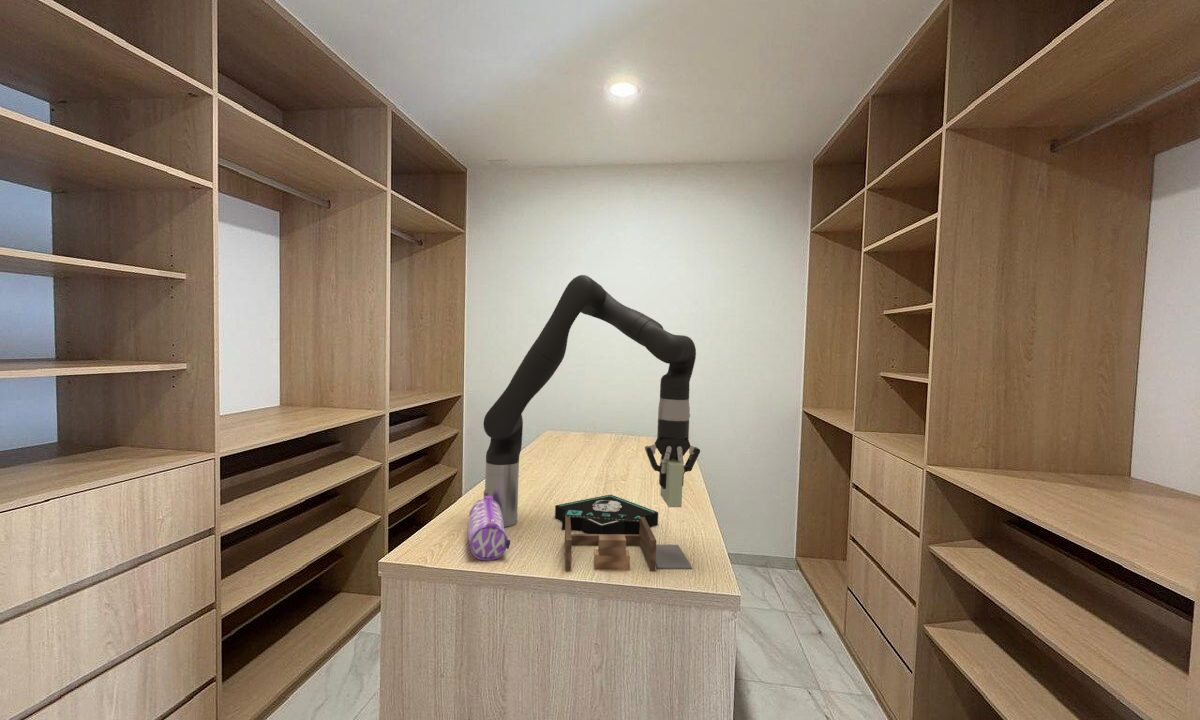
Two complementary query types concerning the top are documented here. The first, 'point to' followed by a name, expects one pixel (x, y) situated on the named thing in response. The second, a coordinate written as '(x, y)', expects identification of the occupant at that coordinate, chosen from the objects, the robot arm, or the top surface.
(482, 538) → the pencil case
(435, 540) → the top surface
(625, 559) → the block
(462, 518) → the top surface
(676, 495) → the green board
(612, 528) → the wall plaque
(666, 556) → the felt pad
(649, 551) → the rack
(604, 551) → the upper offcut
